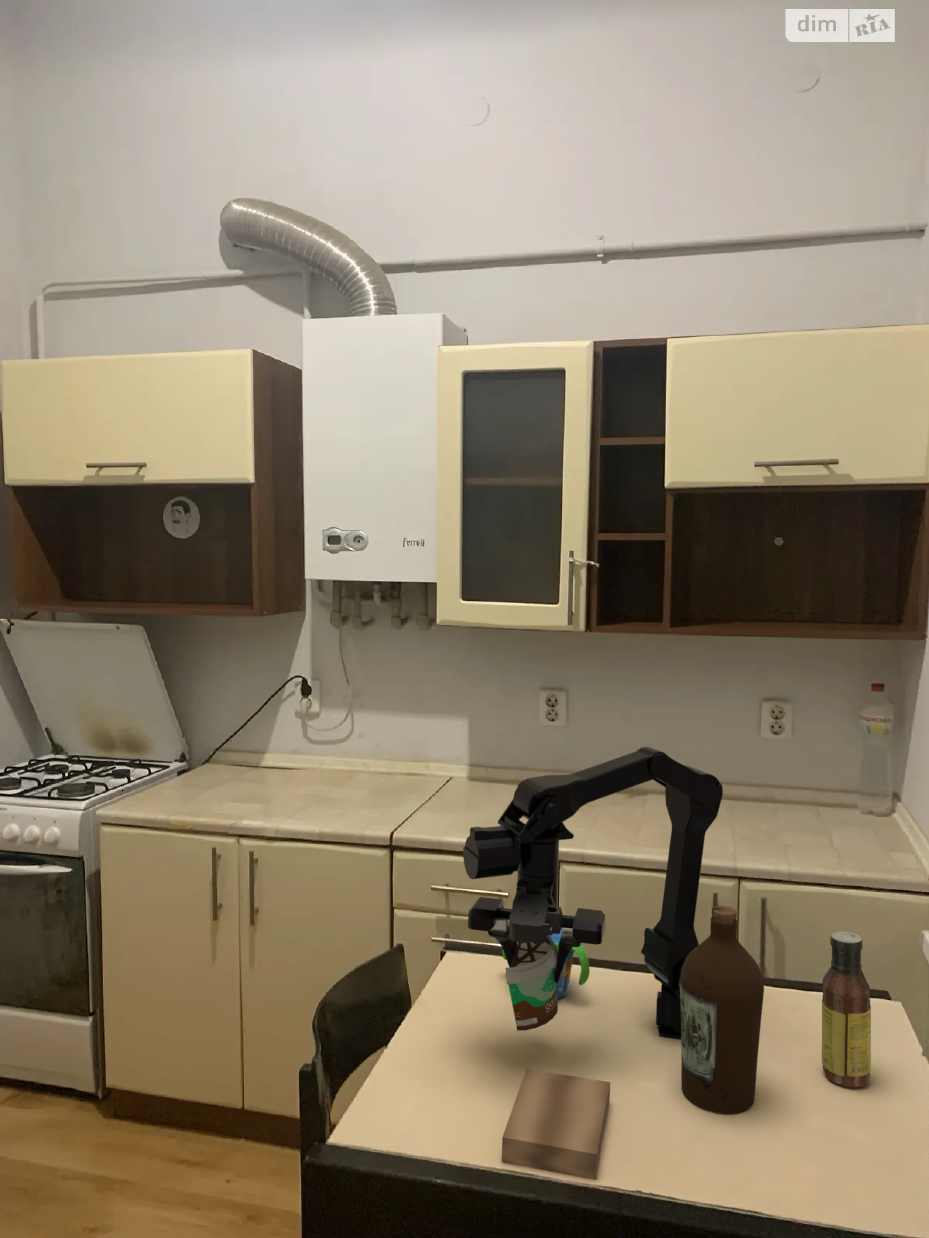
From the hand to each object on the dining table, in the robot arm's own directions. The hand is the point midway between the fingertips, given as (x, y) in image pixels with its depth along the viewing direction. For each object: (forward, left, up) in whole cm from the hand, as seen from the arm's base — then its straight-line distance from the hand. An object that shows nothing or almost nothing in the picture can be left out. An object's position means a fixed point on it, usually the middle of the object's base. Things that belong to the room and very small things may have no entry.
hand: (535, 978), depth 129 cm
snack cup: (+2, -20, -12) cm, 23 cm away
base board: (-6, +16, -11) cm, 20 cm away
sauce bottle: (-42, -7, -12) cm, 44 cm away
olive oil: (-25, +2, -12) cm, 28 cm away
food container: (-1, -1, -5) cm, 5 cm away
